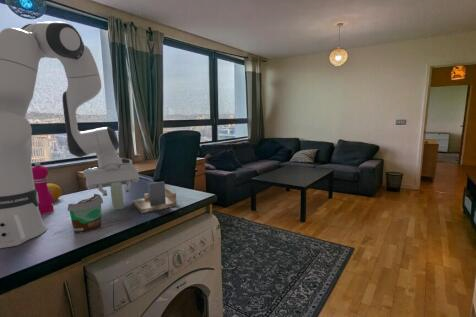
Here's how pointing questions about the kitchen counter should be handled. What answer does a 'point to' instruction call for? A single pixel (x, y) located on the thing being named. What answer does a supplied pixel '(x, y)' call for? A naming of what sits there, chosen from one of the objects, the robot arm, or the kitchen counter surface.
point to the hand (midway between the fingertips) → (116, 193)
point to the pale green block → (117, 195)
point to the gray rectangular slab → (157, 193)
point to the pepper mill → (42, 188)
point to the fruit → (54, 190)
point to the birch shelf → (144, 205)
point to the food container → (86, 214)
